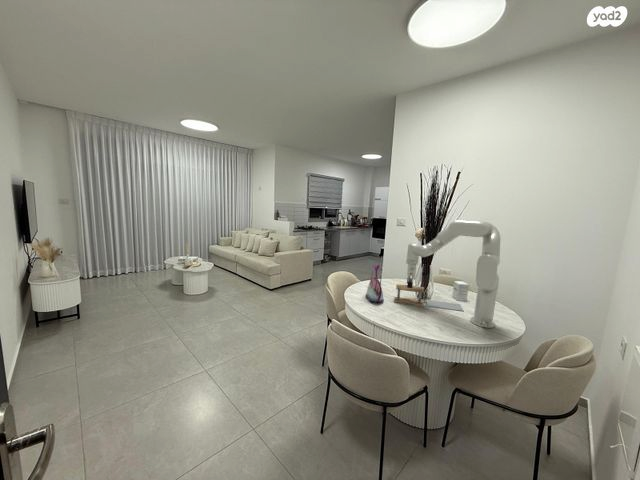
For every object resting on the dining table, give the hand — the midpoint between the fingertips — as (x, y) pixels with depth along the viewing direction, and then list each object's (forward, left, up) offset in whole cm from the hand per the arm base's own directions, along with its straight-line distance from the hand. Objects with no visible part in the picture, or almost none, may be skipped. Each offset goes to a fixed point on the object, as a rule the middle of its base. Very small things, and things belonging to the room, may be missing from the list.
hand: (409, 285), depth 184 cm
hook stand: (0, 0, -12) cm, 12 cm away
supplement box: (+22, -36, -12) cm, 44 cm away
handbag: (-4, +23, -12) cm, 26 cm away
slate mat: (+3, -23, -12) cm, 26 cm away
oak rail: (0, 0, -3) cm, 3 cm away
